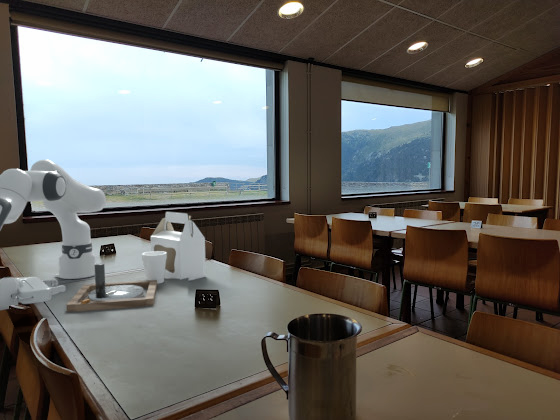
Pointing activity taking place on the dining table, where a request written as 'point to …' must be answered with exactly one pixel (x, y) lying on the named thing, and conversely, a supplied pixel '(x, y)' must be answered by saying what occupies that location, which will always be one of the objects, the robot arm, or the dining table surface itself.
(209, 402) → the dining table surface
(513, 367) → the dining table surface
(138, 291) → the dial
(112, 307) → the wooden tray
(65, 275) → the robot arm
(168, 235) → the gable box
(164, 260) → the foam cup
